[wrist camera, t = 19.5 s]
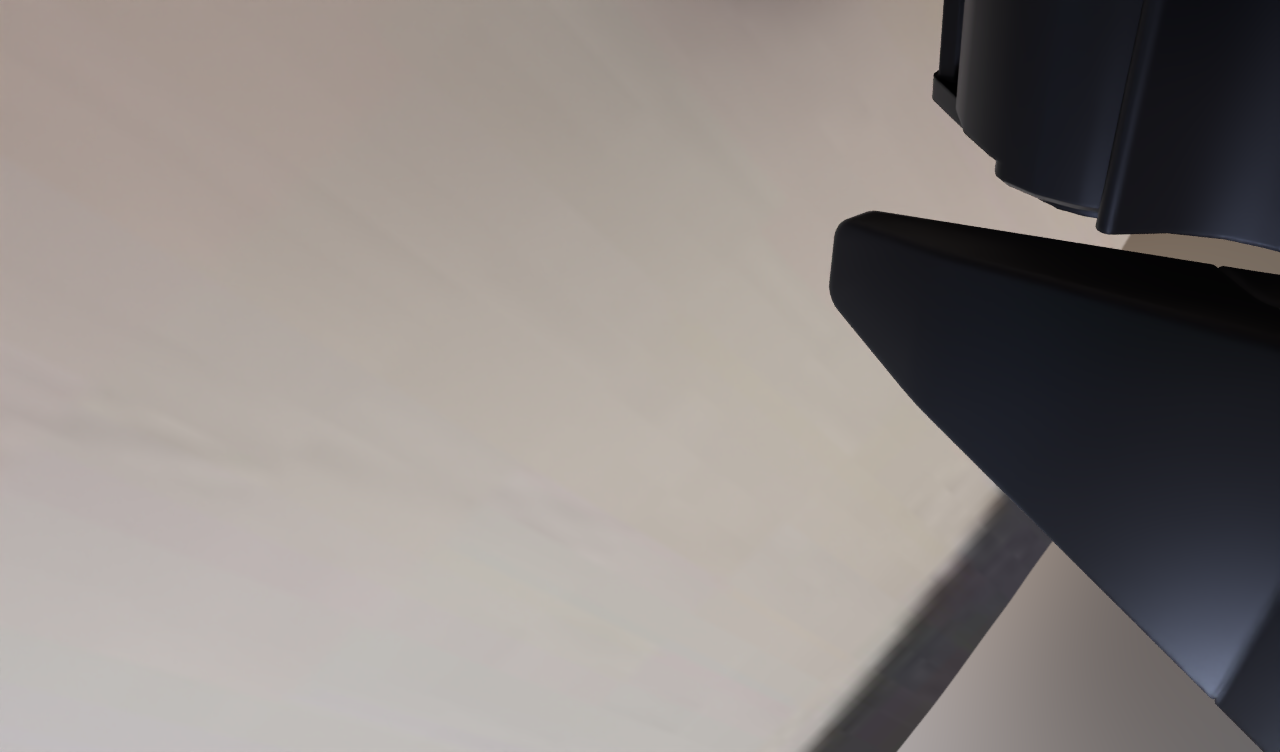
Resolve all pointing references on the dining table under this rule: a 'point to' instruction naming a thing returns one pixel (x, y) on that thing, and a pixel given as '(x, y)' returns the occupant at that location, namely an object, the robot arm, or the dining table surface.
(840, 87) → the dining table surface
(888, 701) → the dining table surface
